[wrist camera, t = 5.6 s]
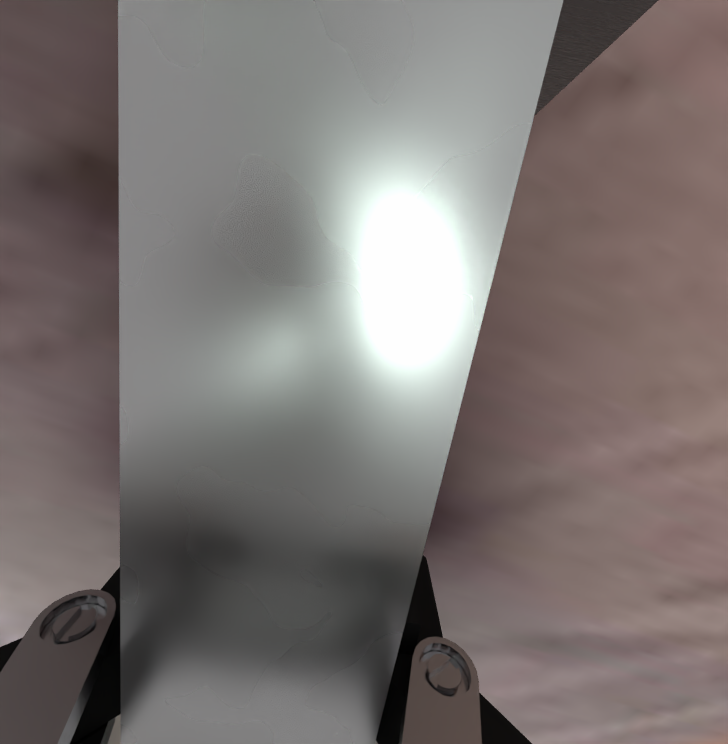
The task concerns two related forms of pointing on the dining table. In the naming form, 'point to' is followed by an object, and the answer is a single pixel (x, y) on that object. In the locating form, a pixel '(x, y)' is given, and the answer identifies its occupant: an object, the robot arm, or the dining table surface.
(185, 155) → the grey rectangular bar
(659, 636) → the dining table surface
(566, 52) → the sleeve
